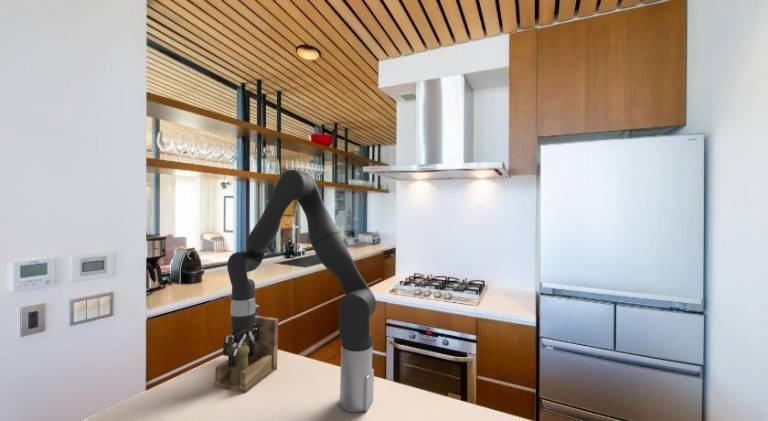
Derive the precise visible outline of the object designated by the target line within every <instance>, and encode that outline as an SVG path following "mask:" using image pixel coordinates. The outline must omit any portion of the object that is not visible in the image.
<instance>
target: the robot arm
mask: <svg viewBox="0 0 768 421" xmlns="http://www.w3.org/2000/svg"><path fill="white" fill-rule="evenodd" d="M294 200H296V201H297V202H298V203H299V206H300V207H301V209H302V210H303V212H304V215H305V217H306V222H307V232H308V237H309V242H310V244H311V247H312V249H313V250H314V252H315V255H316V256H317V258H318V260H319V261H320V263H321V264H322V265H323V266H324V267H325V268H326V269H327V270H328V272H330V273H331V274H332V275H333V276H334V277H335V278H336V280H337V281H338V283H339V284H340V286H341V289H342V290H343V292H344V295H345V296H344V297H343V298H342V299H341V301H340V303H339V308H338V310H339V311H338V333H339V338H340V341H341V344H340V345H341V347H340V350H341V351H340V380H339V382H340V383H339V388H340V390H339V392H340V393H339V406H340V408H341V409H343V410H344V411H345V412H349V413H359V412H368V410H369V409H370V407H371V405H372V403H373V401H374V386H375V385H374V382H375V377H374V376H375V369H374V368H373V341H374V340H373V335H372V334H371V333H370V317H372V315H374V313H375V311H376V308H377V300H376V297H375V295H374V293H373V291H372V290H371V289H370V287H369V286H368V284H367V282H366V281H365V279H364V277H362V276H363V275H362V274H361V273H360V272H359V270H358V268H357V266H356V264H355V261H354V259H353V258H352V257H353V256H352V255H351V253H350V251H349V249H348V247H347V245H346V243H345V241H344V239H343V237H342V235H341V233H340V231H339V230H338V228H337V225H336V224H335V223H334V221H333V218H332V216H331V215H330V213H329V210H328V209H327V207H326V205H325V203H324V201H323V198H322V196H321V194H320V191H319V188H318V185H317V183H316V181H315V179H314V178H313V176H312V175H311V174H309V173H307V172H304V171H302V170H298V169H288V170H286V171H284V172H283V173H282V174H281V176H280V177H279V178H278V180H277V182H276V185H275V186H274V189H273V191H272V193H271V196H270V198H269V200H268V202H267V205H266V207H265V208H264V211H263V212H262V215H260V216H261V217H260V218H259V219H258V221H257V223H256V224H255V225H254V227H253V229H252V230H251V231H250V233H249V235H247V238H246V240H245V245H246V247H247V248H246V250H244V251H237V252H234V253H232V254H231V255H230V256H229V258H228V260H227V264H226V267H227V272H228V277H229V281H230V284H231V303H230V318H229V320H230V322H229V323H230V324H229V325H230V326H229V327H230V328H231V330H232V332H231V334H230V335H224V337H223V345H222V356H225V357H227V358H228V359H227V360H228V366H229V367H232V368H234V367H236V353H237V351H238V349H240V347H241V345H242V344H244V343H245V342H248V343H249V344H248V347H249V354H248V356H253V355H254V352H255V344H256V341H258V340H259V339H260V334H259V324H258V323H255V305H256V283H255V281H254V280H253V279H250V278H249V277H248V273H249V272H250V273H251V272H252V271H255V270H257V268H259V266H260V265H261V264H262V262H263V259H264V258H265V255H266V252H267V249H268V247H269V246H270V244H271V243H272V242H273V240H274V239H275V238H276V236H277V234H278V232H279V229H280V226H281V221H282V219H283V215H284V213H285V212H286V210H287V208H288V207H289V206H290V205H291V204H292V202H294ZM255 334H256V337H255ZM233 348H235V349H234V351H233V352H232V350H233Z"/></svg>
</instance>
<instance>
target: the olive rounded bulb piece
mask: <svg viewBox="0 0 768 421" xmlns="http://www.w3.org/2000/svg"><path fill="white" fill-rule="evenodd" d="M234 349H235V348H233V350H232V352H233V351H234ZM248 354H249V347H248V346H247V345H245V344H242V345H241V347H240V349H238V351H237V353H236V367H234V368H232V371H231V377H230V383H231V384H234V385H238V384H240V372H241V371H243V370H244V369H246V368H247V367H249V365H248V356H247V355H248Z"/></svg>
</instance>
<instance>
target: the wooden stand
mask: <svg viewBox="0 0 768 421" xmlns="http://www.w3.org/2000/svg"><path fill="white" fill-rule="evenodd" d="M255 323H258V324H259V334H260V339H259V340H258V341H256V344H255V352H254V355H253V356H248V355H247V356H248V365H249V367H247V368H246V369H244V370H243V371H241V372H240V384H238V385H234V384H231V383H230V377H231V371H232V367H229V366H228V359H227V360H225V361H224V362H222V363H221V364H219V365H217V366H215V368H214V369H215V372H214V373H215V376H214V377H215V378H214V384H213V385H214V386H213V387H217V388H222V389H227V390H230V391H234V392H235V391H236V392H240V393H243V394H247V392H249V391H250V390H251V389H253V388H254V387H256V386H257V385H259V383H261V382H262V381H263V380H265V379H266V378H267V377H269V376H270V375H271V374H273V373H274V372H275V371H277V370H278V350H279V349H278V347H279V345H278V344H279V318H276V317H272V316H271V317H269V316H264V315H263V316H262V315H259V316H256V315H255ZM255 337H256V334H255ZM248 344H249V343H248V342H246V345H247V346H248Z"/></svg>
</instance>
